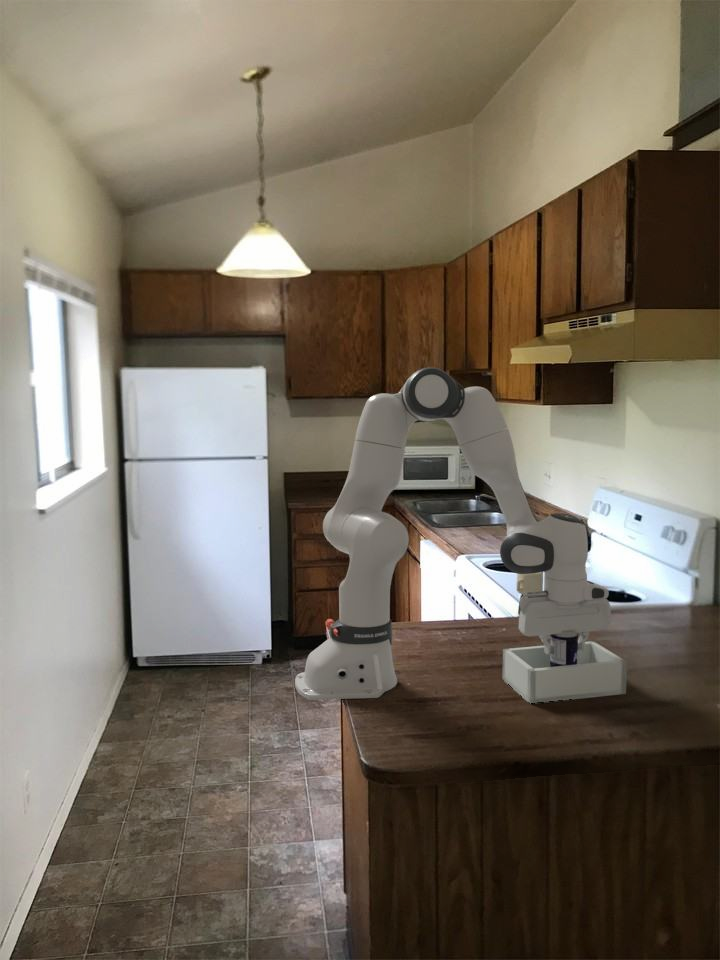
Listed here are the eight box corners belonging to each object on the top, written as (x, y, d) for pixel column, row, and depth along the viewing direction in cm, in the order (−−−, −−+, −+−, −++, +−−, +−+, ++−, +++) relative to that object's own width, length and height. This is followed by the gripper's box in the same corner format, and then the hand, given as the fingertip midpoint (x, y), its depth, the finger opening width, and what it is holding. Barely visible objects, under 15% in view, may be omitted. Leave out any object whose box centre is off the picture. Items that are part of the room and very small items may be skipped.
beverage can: (577, 687, 169) (579, 632, 168) (550, 685, 170) (551, 631, 169) (575, 677, 175) (577, 624, 173) (549, 676, 176) (550, 623, 174)
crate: (529, 704, 163) (530, 671, 162) (502, 679, 177) (502, 649, 176) (626, 693, 168) (627, 661, 168) (592, 670, 182) (592, 641, 181)
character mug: (531, 609, 231) (532, 565, 229) (551, 615, 225) (552, 570, 224) (506, 616, 224) (507, 571, 223) (526, 622, 219) (527, 576, 217)
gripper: (526, 596, 165) (525, 661, 166) (615, 589, 169) (613, 652, 171) (514, 589, 171) (513, 651, 172) (600, 582, 175) (598, 643, 177)
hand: (564, 652), depth 172 cm, fingers closed on beverage can, 6 cm apart
